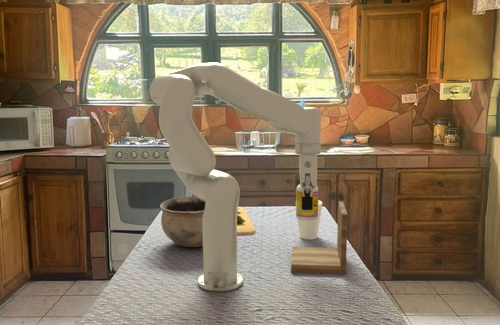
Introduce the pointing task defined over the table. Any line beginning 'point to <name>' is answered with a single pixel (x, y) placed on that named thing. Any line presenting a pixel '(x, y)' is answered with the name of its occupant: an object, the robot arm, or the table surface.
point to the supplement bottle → (299, 212)
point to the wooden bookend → (324, 252)
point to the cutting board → (244, 223)
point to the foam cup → (310, 226)
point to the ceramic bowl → (183, 220)
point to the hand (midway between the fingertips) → (307, 206)
